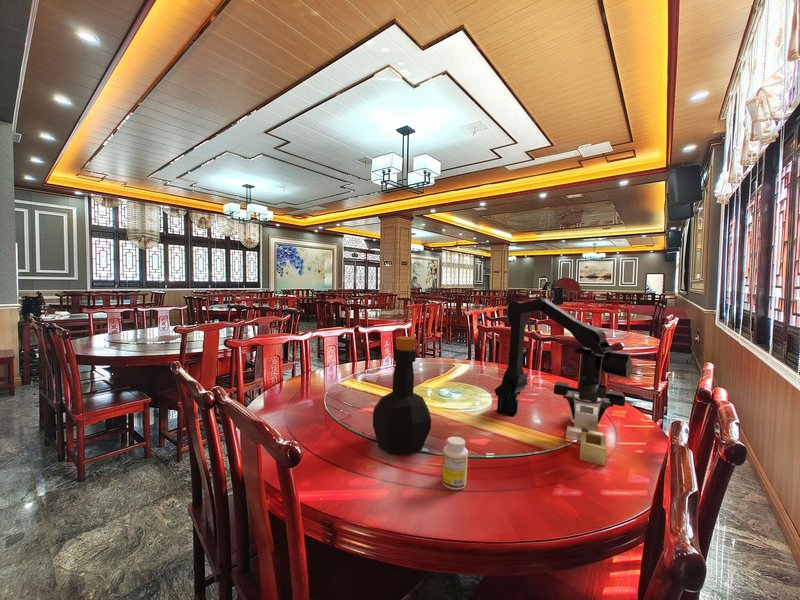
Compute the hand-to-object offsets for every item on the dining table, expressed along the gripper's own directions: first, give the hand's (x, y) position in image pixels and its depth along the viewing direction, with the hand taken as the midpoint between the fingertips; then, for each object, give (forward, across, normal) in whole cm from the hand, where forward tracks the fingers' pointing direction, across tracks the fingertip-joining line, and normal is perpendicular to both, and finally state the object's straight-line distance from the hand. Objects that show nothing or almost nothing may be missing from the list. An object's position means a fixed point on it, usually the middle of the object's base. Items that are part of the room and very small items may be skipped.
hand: (585, 420), depth 110 cm
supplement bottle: (+6, -26, -45) cm, 52 cm away
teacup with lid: (+6, -1, +16) cm, 17 cm away
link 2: (+6, +2, -11) cm, 13 cm away
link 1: (+1, 0, 0) cm, 1 cm away
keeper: (+6, 0, 0) cm, 6 cm away
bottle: (+6, -45, -35) cm, 57 cm away
